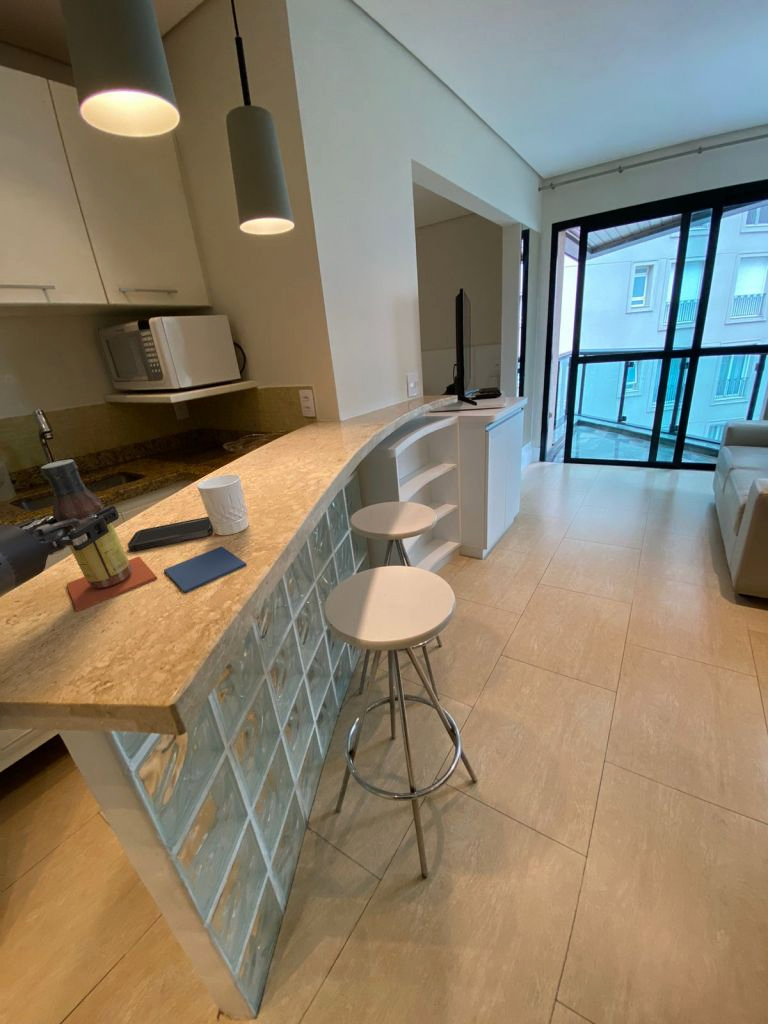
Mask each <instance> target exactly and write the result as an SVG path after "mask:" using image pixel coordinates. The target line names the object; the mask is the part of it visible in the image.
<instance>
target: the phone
mask: <svg viewBox="0 0 768 1024" xmlns="http://www.w3.org/2000/svg"><path fill="white" fill-rule="evenodd" d="M213 532H214V529H213V526H212V524H211V521H210V520H209V517H208V516H204V517H200V518H195V519H194V518H193V519H189V520H184V521H178V522H174V523H169V524H163V525H158V526H153V527H148V528H143V529H140V530H137V531H136V532H135V533H134V535H133V536H131V537H132V538H131V539H130V540H129V542H128V543H127V548H128V550H129V552H136V551H141V550H145V549H150V548H154V547H159V546H164V545H170V544H175V543H179V542H184V541H189V540H194V539H199V538H203V537H208V536H210V535H213Z"/></svg>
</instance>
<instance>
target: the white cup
mask: <svg viewBox="0 0 768 1024" xmlns="http://www.w3.org/2000/svg"><path fill="white" fill-rule="evenodd" d="M242 484H243V483H242V479H241V476H240V475H238V474H222V475H216V476H213V477H209V478H207V479H204V480H202V481H200V482H199V483H197V484H196V487H197V491H198V493H199V496H200V498H201V501H202V504H203V507H204V510H205V512H206V515H207V517H209V520H210V521H211V524H212V526H213V532H214V534H215V535H217V536H231V535H234V534H237V533H240V532H243V531H244V530H246V529H247V528H248V527H249V526H250V521H249V517H248V516H249V515H248V508H247V503H246V498H245V497H246V496H245V493H244V489H243V485H242Z"/></svg>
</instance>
